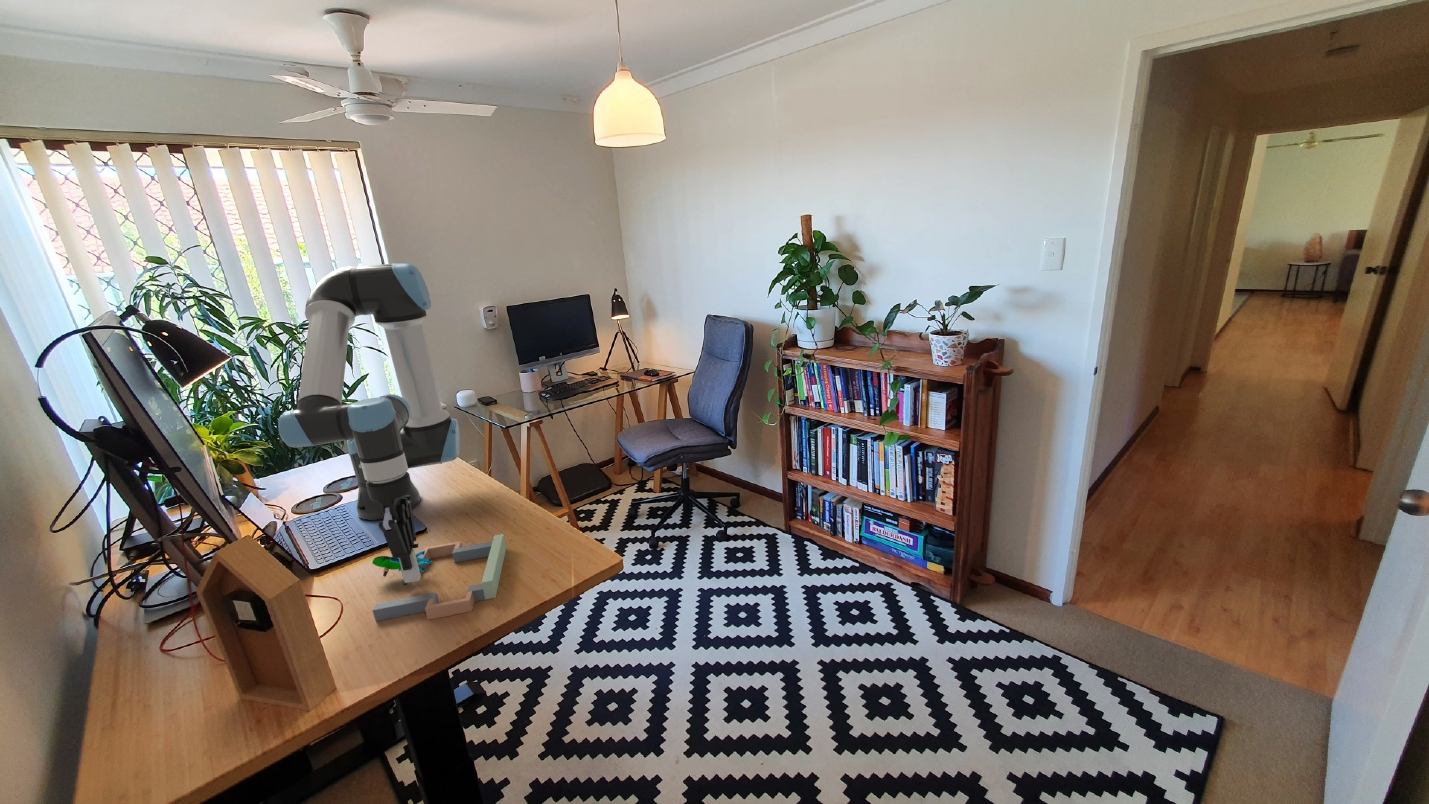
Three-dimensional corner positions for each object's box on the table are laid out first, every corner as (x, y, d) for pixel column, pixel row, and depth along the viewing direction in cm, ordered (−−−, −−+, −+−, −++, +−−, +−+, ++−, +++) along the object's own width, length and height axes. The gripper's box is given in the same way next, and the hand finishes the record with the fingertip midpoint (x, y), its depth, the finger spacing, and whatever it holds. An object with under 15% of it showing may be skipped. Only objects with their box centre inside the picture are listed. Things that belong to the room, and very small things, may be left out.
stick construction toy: (438, 561, 122) (427, 543, 116) (431, 591, 117) (418, 574, 111) (381, 566, 120) (367, 548, 115) (371, 596, 116) (356, 579, 110)
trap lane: (407, 560, 125) (403, 545, 124) (507, 542, 130) (504, 527, 129) (370, 631, 102) (365, 613, 101) (493, 606, 107) (490, 589, 106)
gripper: (377, 467, 112) (402, 566, 119) (353, 492, 100) (383, 602, 107) (416, 461, 114) (439, 560, 120) (398, 486, 102) (424, 594, 108)
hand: (413, 579), depth 113 cm, fingers closed
